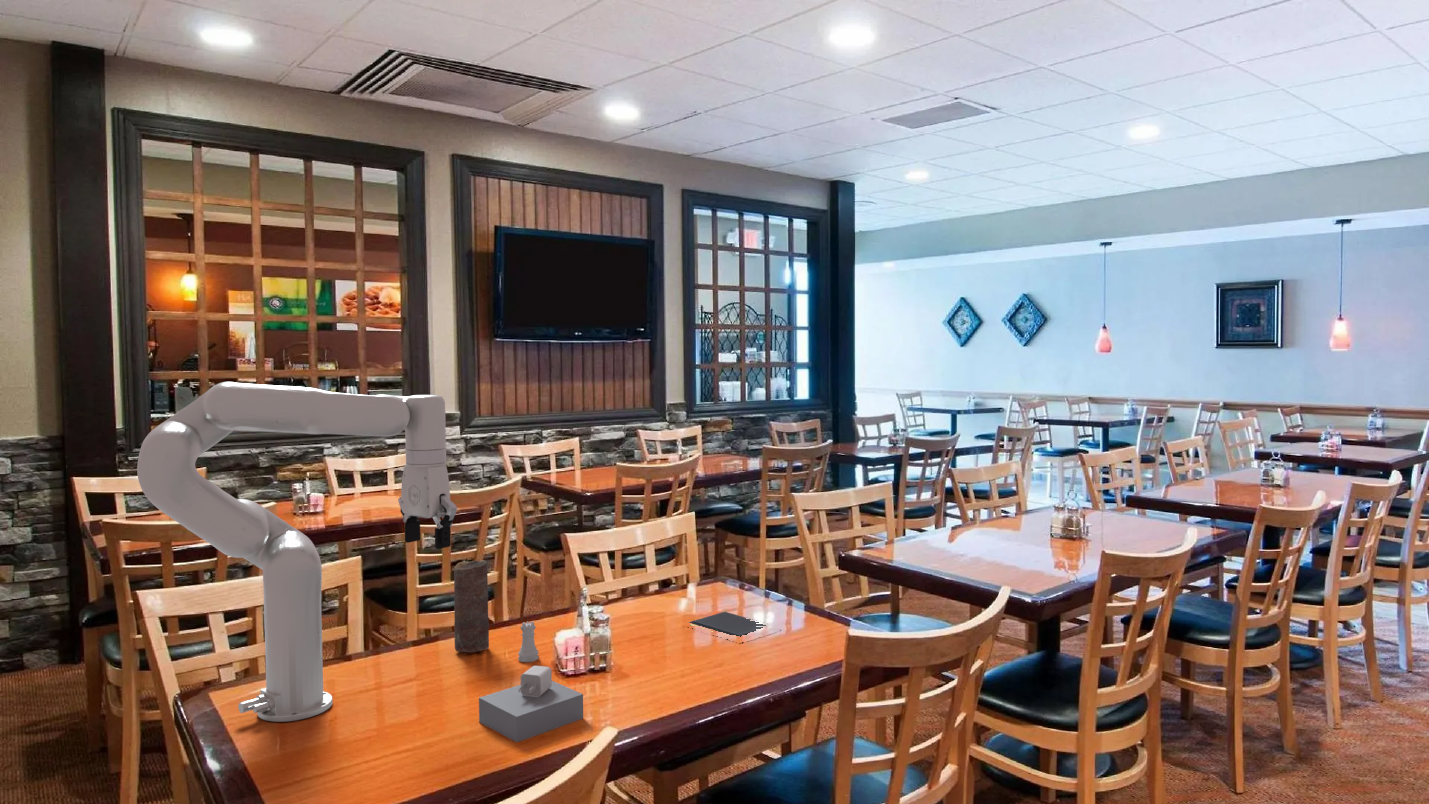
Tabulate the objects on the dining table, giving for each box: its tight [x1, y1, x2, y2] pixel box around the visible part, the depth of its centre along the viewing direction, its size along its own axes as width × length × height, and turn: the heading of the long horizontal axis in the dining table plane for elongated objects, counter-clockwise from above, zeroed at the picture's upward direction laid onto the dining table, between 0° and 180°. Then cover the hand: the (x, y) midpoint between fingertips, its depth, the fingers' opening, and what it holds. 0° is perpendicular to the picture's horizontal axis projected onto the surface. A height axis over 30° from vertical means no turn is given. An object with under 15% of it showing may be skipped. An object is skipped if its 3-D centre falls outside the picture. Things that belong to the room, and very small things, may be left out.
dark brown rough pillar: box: [453, 559, 490, 654], centre depth 196 cm, size 8×7×20 cm
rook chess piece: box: [517, 620, 540, 664], centre depth 191 cm, size 4×4×8 cm
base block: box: [478, 680, 584, 743], centre depth 160 cm, size 14×12×5 cm
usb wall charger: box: [519, 665, 553, 697], centre depth 160 cm, size 4×7×4 cm, turn 165°
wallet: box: [688, 611, 766, 637], centre depth 214 cm, size 20×2×15 cm
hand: (427, 544), depth 175 cm, fingers open, 9 cm apart
